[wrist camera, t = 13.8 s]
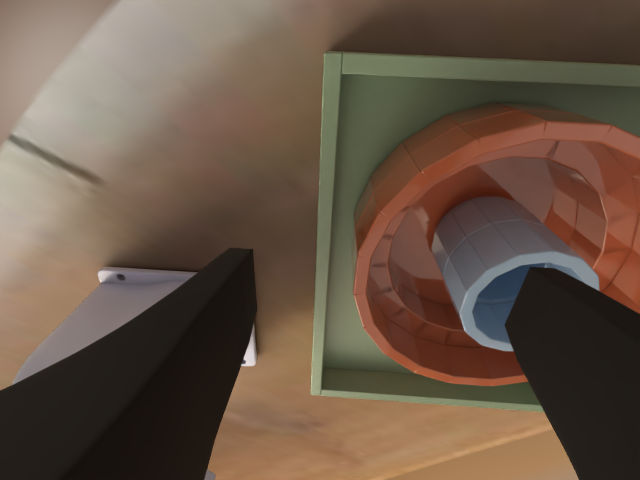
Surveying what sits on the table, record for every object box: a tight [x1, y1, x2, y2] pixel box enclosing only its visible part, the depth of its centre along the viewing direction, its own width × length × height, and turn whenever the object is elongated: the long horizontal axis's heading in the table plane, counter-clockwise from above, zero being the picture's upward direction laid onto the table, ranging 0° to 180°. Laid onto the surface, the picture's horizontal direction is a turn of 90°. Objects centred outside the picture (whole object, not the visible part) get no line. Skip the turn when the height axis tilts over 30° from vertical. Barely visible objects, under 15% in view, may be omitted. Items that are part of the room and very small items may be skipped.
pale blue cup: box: [431, 196, 599, 351], centre depth 15 cm, size 5×5×6 cm
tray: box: [311, 51, 640, 412], centre depth 18 cm, size 17×20×2 cm
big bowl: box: [351, 102, 640, 386], centre depth 16 cm, size 13×13×5 cm
